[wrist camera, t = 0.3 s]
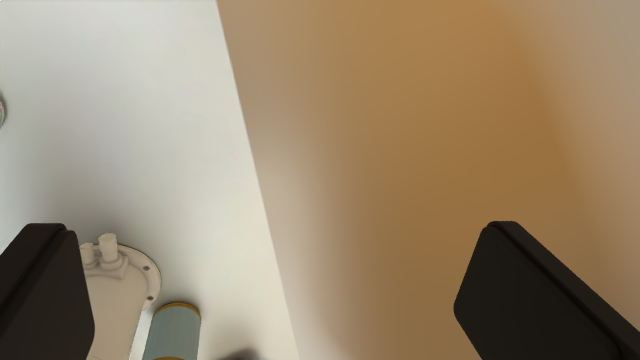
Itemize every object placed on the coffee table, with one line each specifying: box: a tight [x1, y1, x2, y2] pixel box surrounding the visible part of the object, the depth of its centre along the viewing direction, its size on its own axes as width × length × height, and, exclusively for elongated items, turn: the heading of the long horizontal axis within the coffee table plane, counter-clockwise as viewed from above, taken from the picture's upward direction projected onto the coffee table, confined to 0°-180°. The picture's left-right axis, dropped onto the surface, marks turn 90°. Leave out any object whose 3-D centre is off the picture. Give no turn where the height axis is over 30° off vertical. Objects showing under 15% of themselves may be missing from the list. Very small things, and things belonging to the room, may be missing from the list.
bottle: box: [142, 302, 201, 360], centre depth 52 cm, size 7×7×15 cm
